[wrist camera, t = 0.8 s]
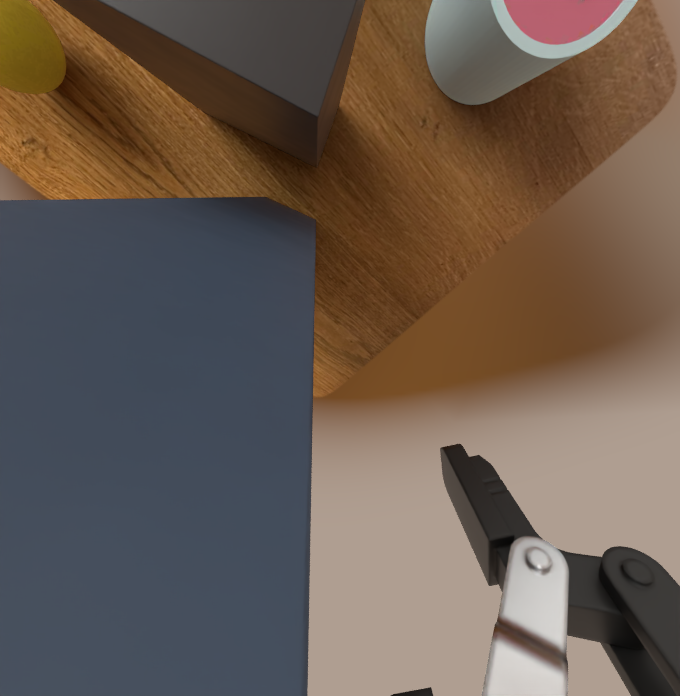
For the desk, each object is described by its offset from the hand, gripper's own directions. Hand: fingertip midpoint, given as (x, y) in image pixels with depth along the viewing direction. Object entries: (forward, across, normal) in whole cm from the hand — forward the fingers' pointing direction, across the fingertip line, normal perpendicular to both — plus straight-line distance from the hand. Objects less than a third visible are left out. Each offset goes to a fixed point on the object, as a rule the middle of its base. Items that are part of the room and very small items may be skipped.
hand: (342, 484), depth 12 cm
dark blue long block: (+24, -2, +7) cm, 25 cm away
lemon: (+24, -16, +23) cm, 37 cm away
